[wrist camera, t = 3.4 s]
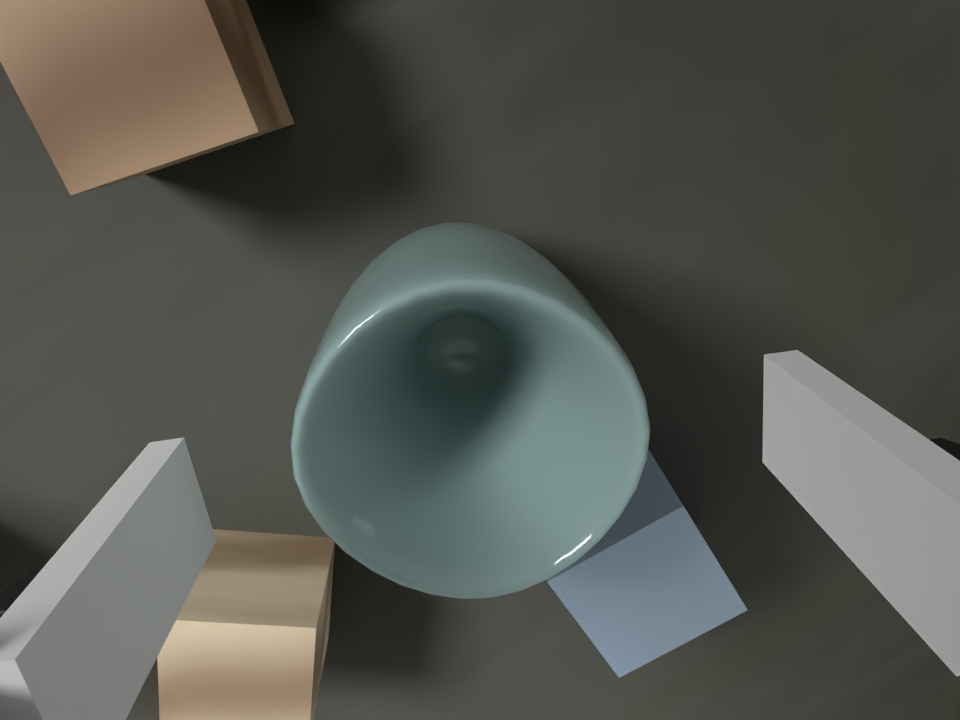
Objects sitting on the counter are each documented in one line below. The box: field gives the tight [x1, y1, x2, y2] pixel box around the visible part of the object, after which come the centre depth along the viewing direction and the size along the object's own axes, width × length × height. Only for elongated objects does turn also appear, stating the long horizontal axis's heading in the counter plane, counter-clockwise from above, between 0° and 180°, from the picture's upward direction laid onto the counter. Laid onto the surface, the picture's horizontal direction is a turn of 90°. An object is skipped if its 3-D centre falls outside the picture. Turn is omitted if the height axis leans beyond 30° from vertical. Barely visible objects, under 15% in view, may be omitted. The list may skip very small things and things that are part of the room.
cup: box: [291, 222, 650, 599], centre depth 20 cm, size 8×8×10 cm
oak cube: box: [157, 529, 335, 720], centre depth 26 cm, size 5×5×5 cm
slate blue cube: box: [547, 449, 747, 678], centre depth 25 cm, size 5×5×5 cm
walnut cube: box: [0, 0, 294, 195], centre depth 19 cm, size 5×5×5 cm
